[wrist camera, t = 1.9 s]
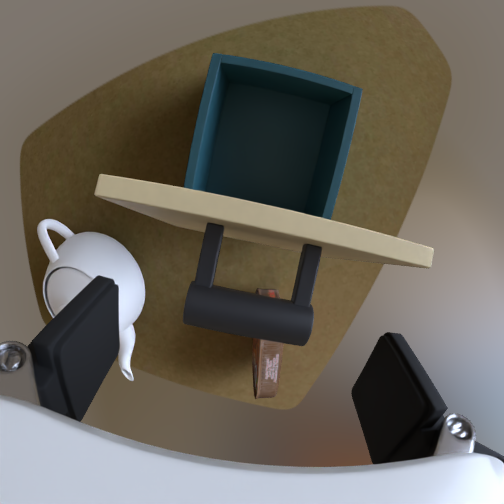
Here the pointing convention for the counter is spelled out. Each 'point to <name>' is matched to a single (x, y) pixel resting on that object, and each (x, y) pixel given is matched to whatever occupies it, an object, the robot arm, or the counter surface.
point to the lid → (262, 232)
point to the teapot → (86, 269)
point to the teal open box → (272, 135)
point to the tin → (266, 360)
